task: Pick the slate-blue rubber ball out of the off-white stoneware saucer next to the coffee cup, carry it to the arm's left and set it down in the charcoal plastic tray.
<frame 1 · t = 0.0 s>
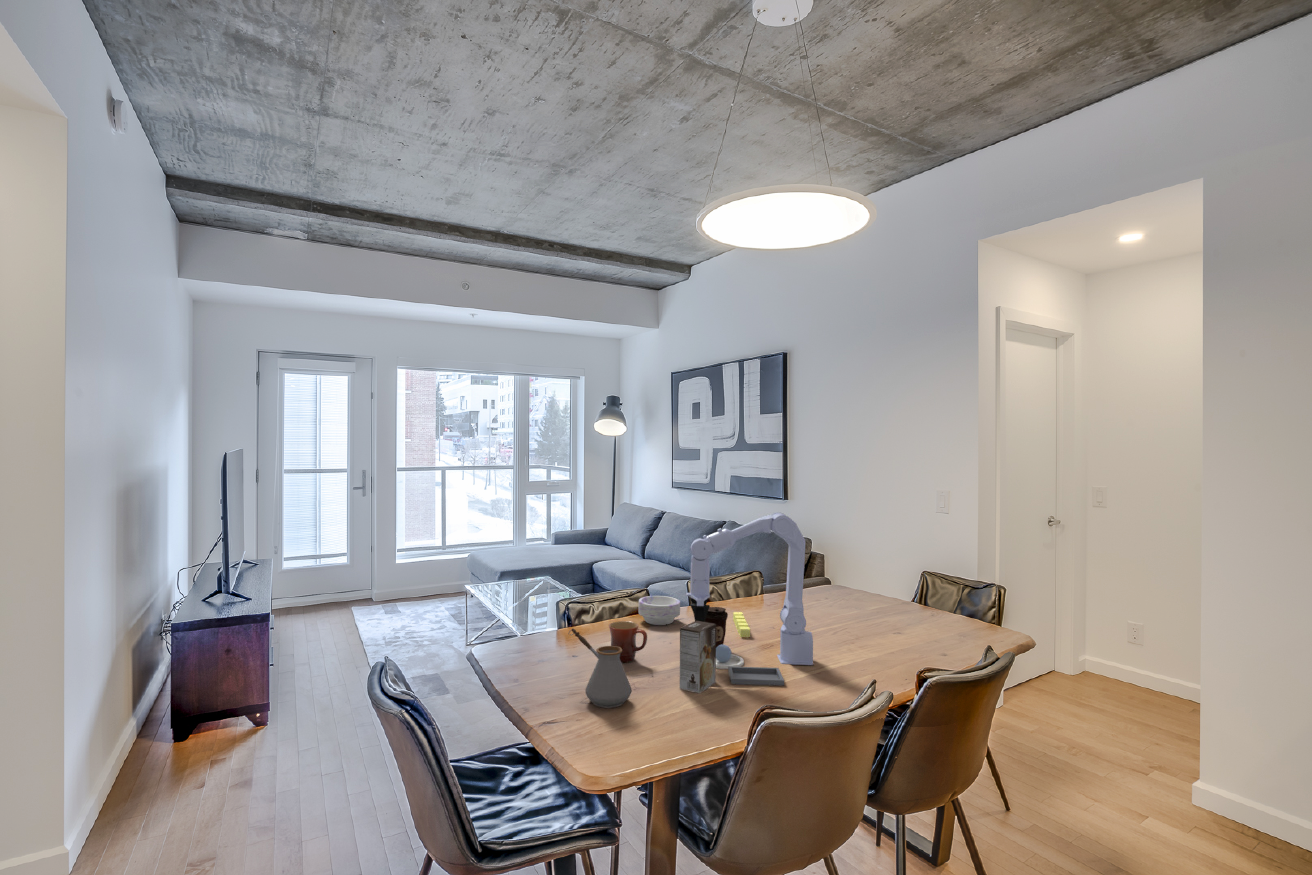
hand: (699, 624, 196), 10 cm above the table, tool pointing down, fingers open, 7 cm apart
coffee cup: (713, 651, 203), on the table
tray: (755, 679, 178), on the table
mug: (627, 661, 192), on the table
coffee pot: (595, 696, 164), on the table
saucer: (722, 663, 191), on the table
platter: (746, 629, 230), on the table
ball: (722, 661, 191), resting on saucer
coffee box: (697, 686, 173), on the table
paper bowls: (659, 622, 236), on the table
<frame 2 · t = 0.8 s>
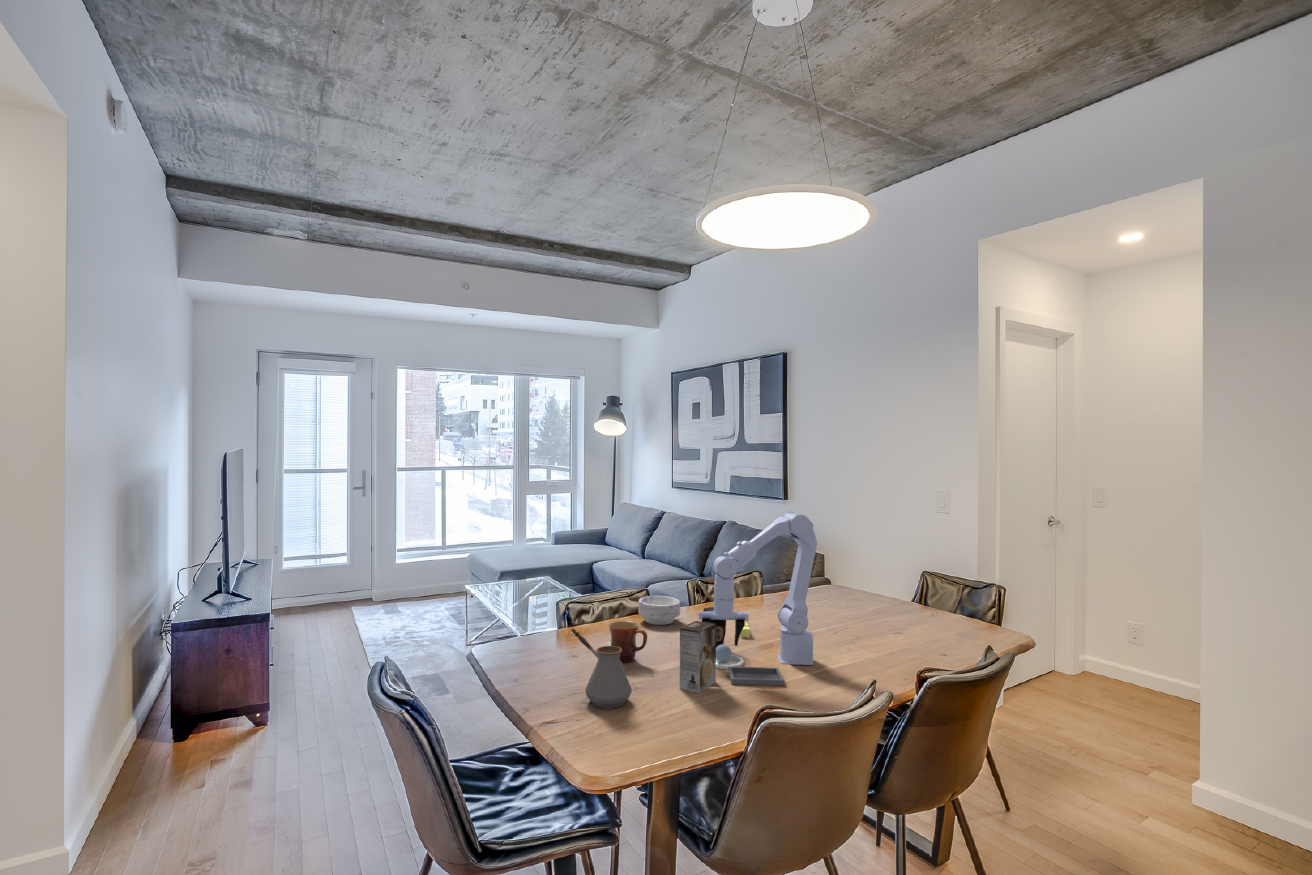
hand: (722, 644, 191), 6 cm above the table, tool pointing down, fingers open, 7 cm apart
nothing on the table moved.
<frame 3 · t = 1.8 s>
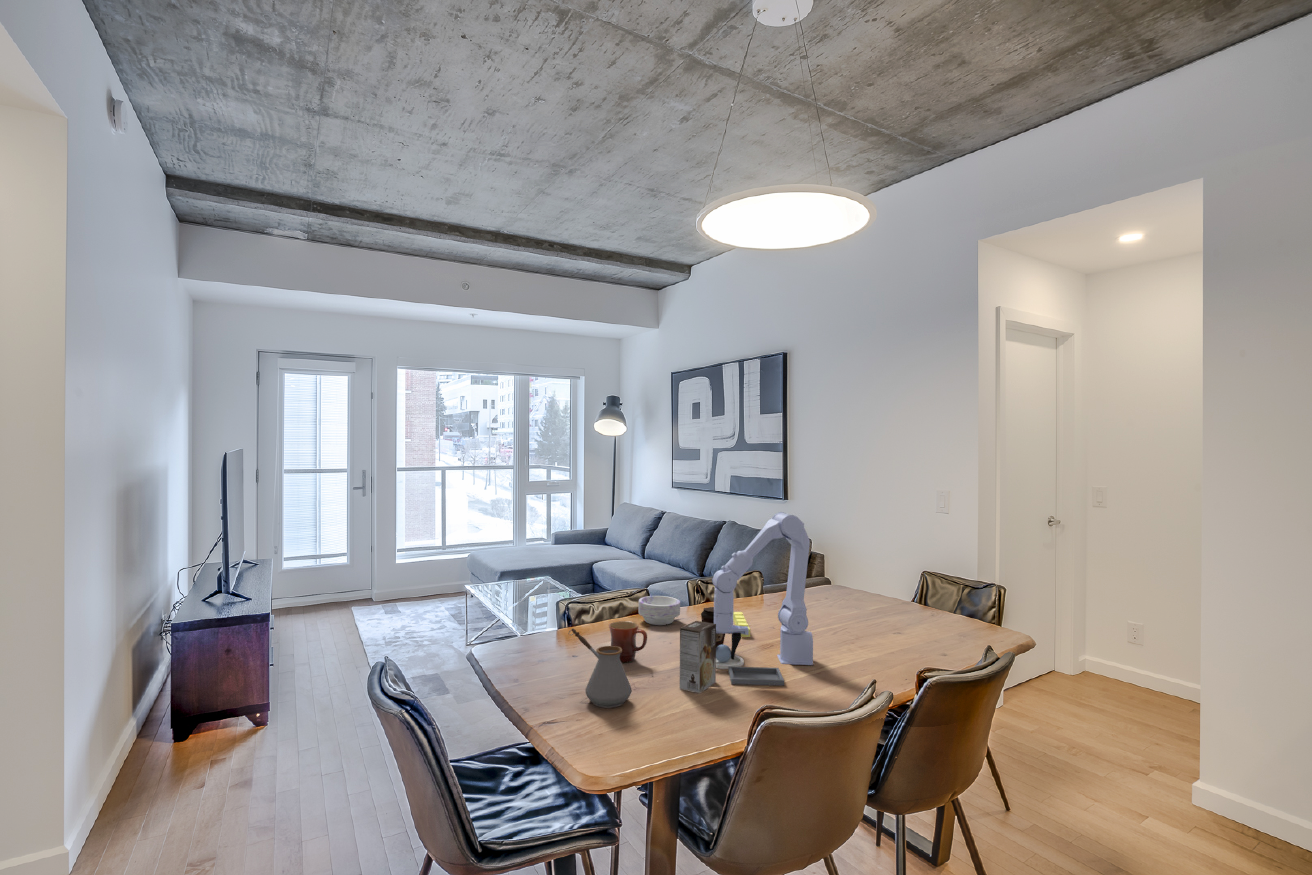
hand: (722, 658, 191), 2 cm above the table, tool pointing down, fingers closed on ball, 5 cm apart
ball: (722, 661, 191), resting on saucer, touching gripper
everything else where it was.
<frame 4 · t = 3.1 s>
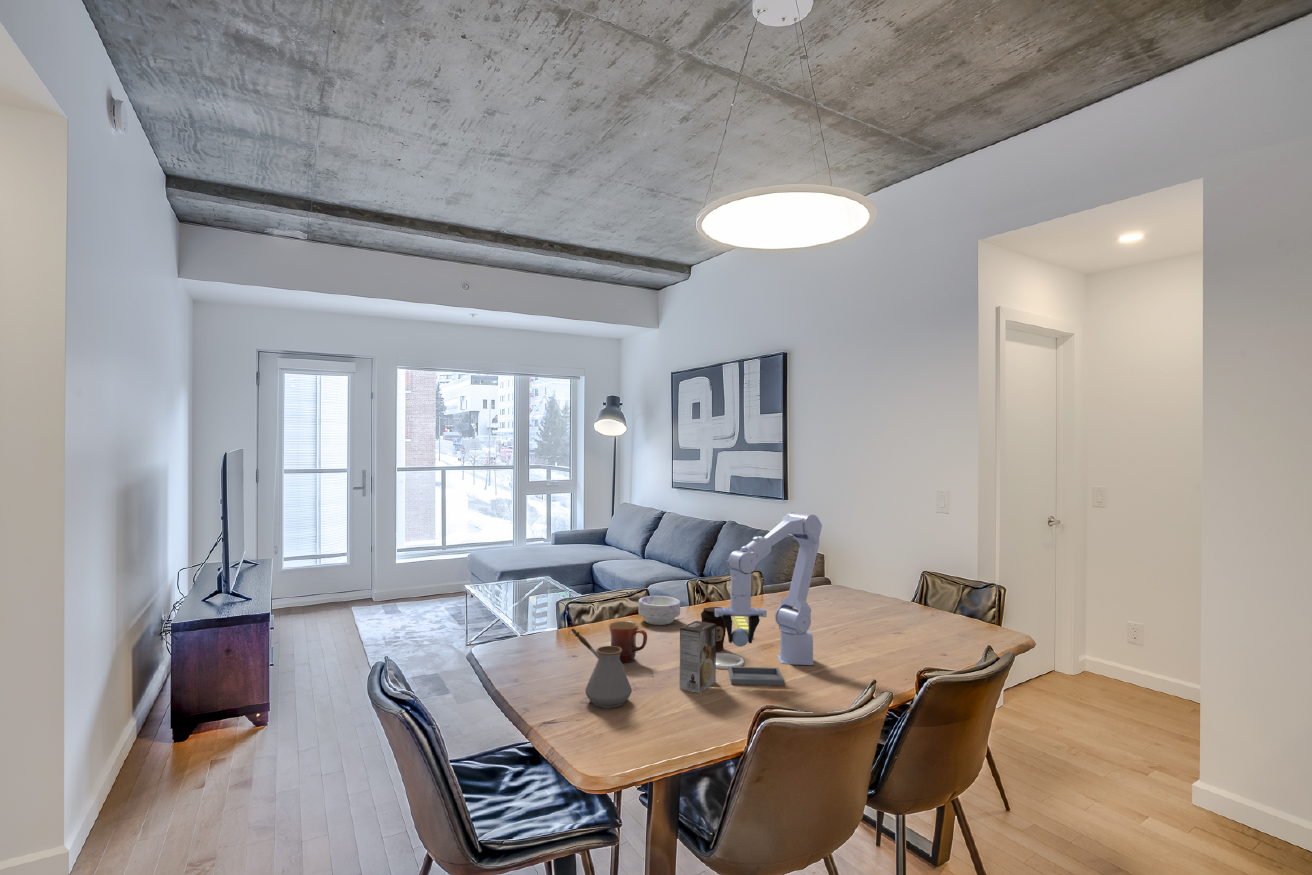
hand: (740, 642, 184), 8 cm above the table, tool pointing down, fingers closed on ball, 5 cm apart
ball: (739, 646, 184), point 7 cm above the table, touching gripper
everything else where it was.
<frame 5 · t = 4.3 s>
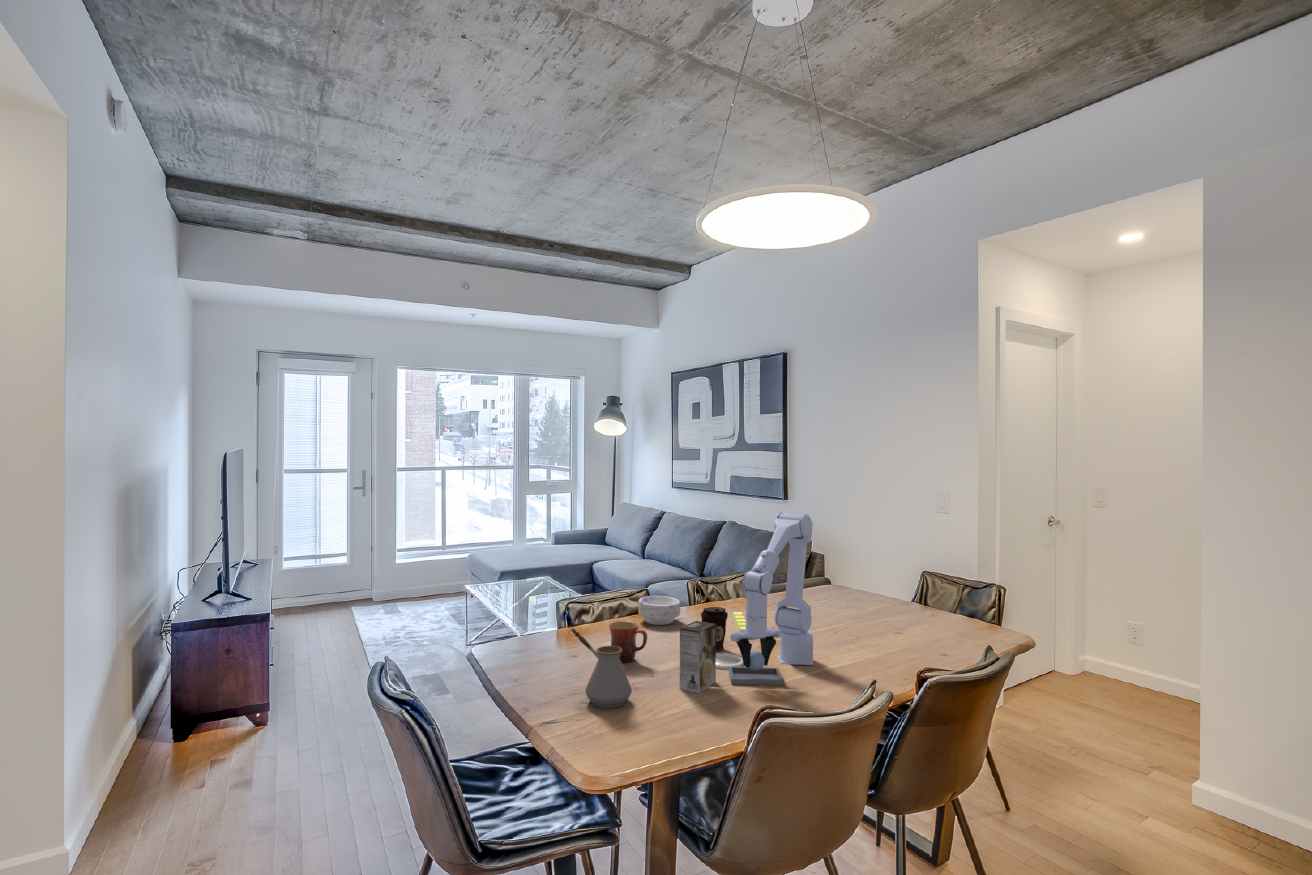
hand: (755, 665, 178), 4 cm above the table, tool pointing down, fingers closed on ball, 5 cm apart
ball: (755, 669, 178), point 3 cm above the table, touching gripper
everything else where it was.
when the fingers open (3 cm above the table, at t = 4.9 s): ball drops 2 cm, resting on tray.
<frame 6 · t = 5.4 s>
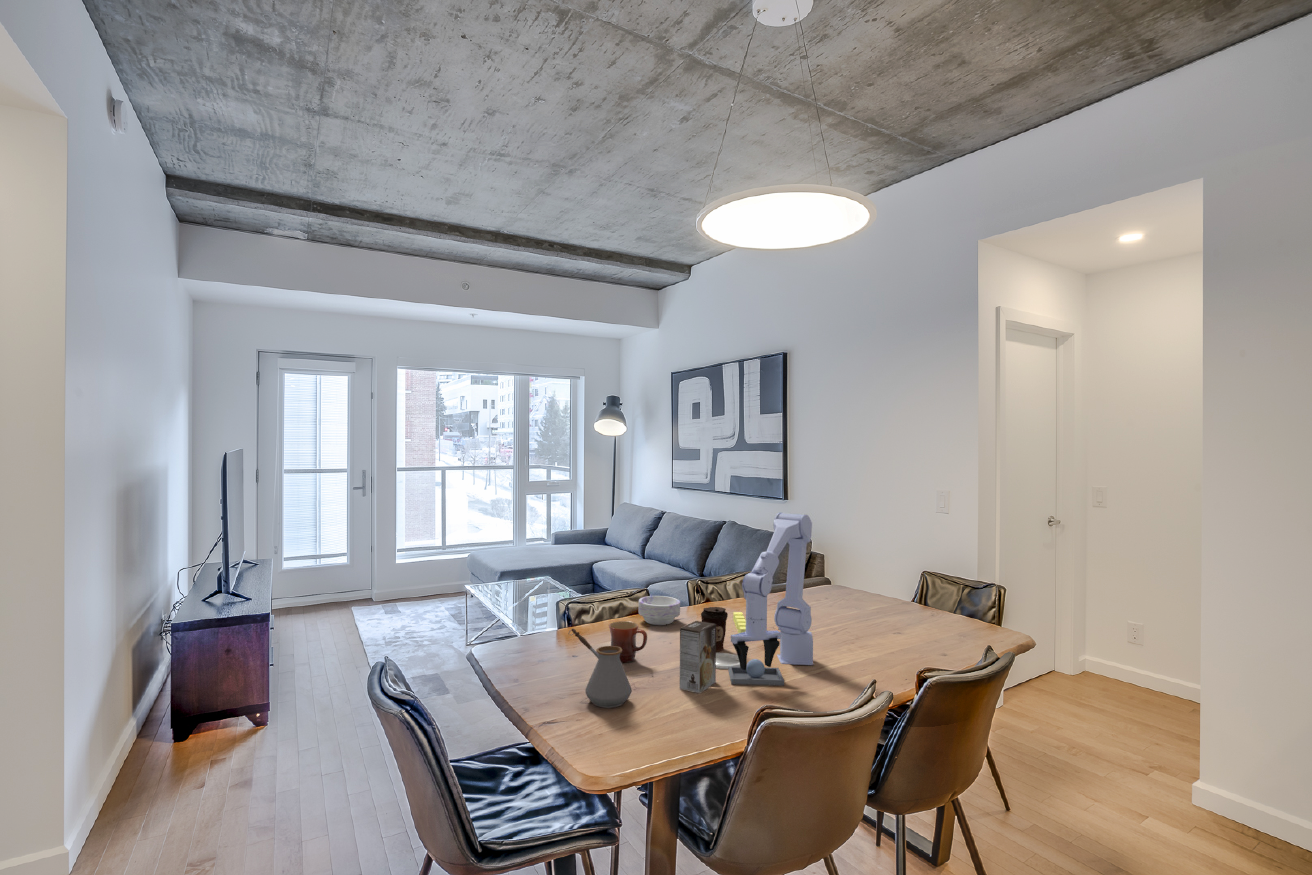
hand: (755, 667, 178), 3 cm above the table, tool pointing down, fingers open, 7 cm apart
ball: (755, 677, 178), point 1 cm above the table, touching tray
everything else where it was.
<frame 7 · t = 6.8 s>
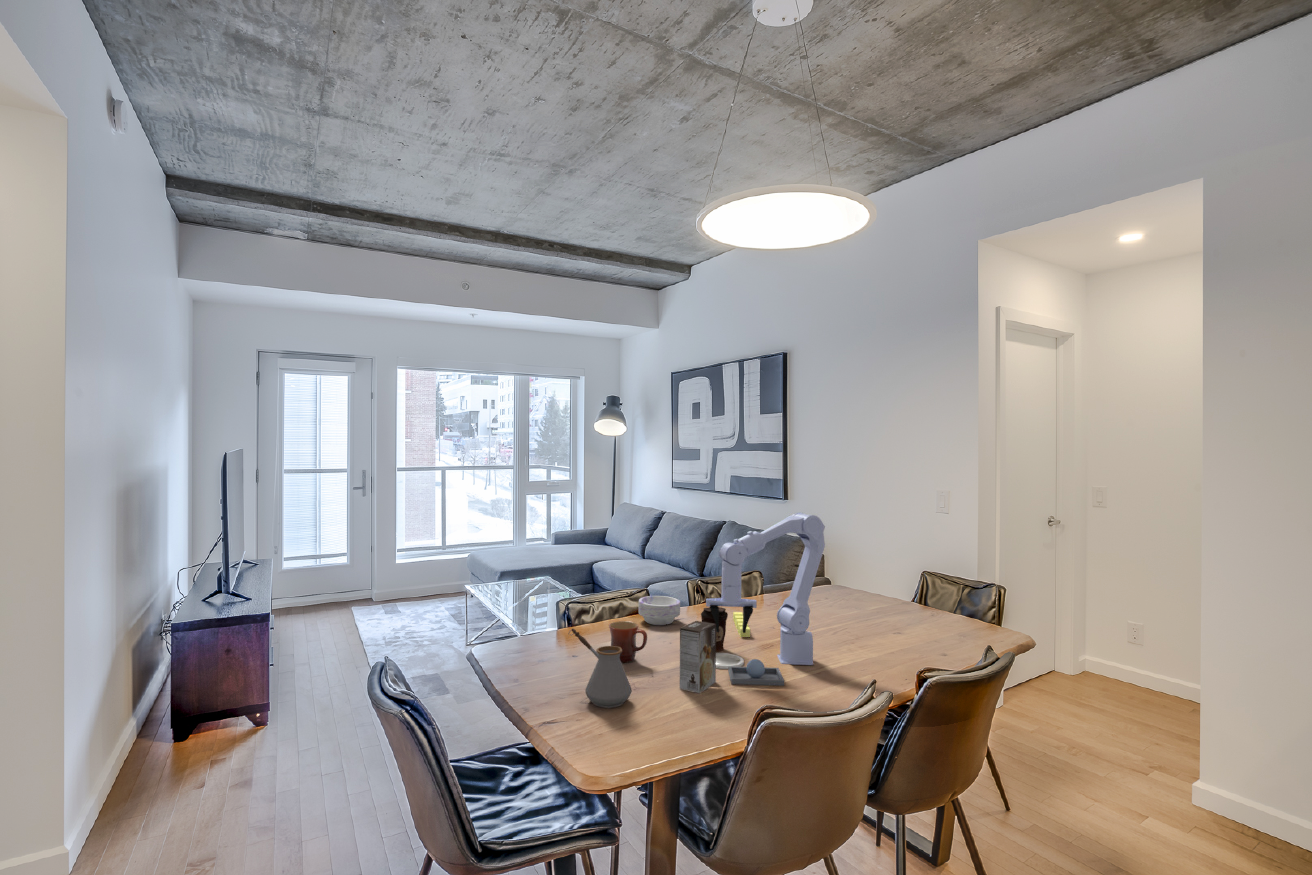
hand: (730, 631, 189), 10 cm above the table, tool pointing down, fingers open, 7 cm apart
nothing on the table moved.
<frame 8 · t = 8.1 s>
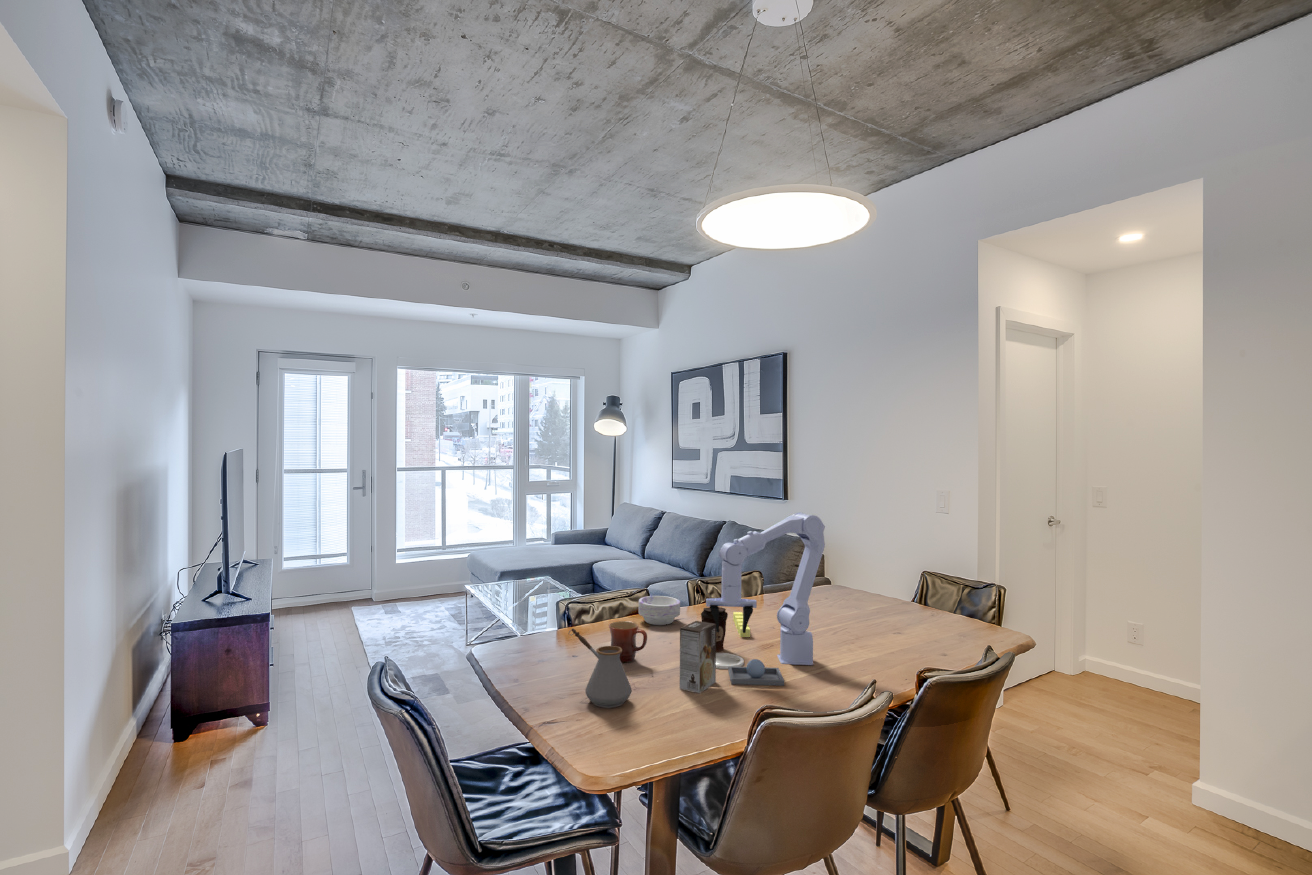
hand: (730, 631, 189), 10 cm above the table, tool pointing down, fingers open, 7 cm apart
nothing on the table moved.
at the end: ball inside the target area on the tray (0.1 cm from its centre), point 0.5 cm above the tray's base; the gripper is holding nothing; ball 15.2 cm from the saucer (horizontally) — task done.
